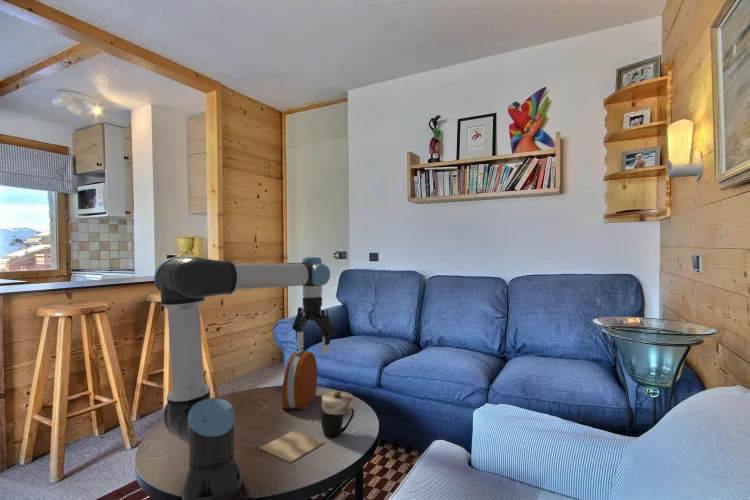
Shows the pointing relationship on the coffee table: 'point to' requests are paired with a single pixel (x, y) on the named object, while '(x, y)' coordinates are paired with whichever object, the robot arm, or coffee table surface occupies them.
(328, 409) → the lid
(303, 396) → the alarm clock
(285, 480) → the coffee table surface
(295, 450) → the mat
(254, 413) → the coffee table surface
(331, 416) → the mug
